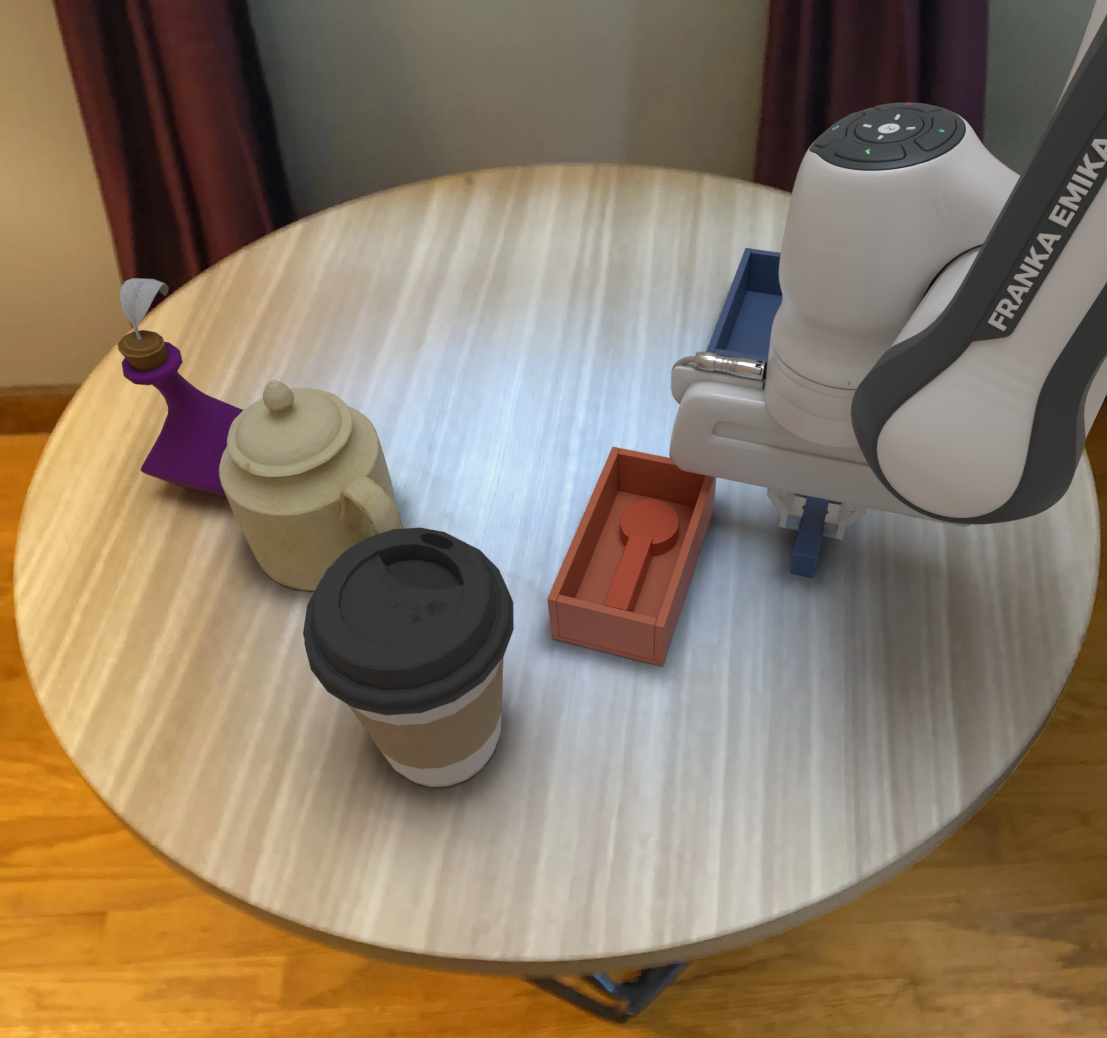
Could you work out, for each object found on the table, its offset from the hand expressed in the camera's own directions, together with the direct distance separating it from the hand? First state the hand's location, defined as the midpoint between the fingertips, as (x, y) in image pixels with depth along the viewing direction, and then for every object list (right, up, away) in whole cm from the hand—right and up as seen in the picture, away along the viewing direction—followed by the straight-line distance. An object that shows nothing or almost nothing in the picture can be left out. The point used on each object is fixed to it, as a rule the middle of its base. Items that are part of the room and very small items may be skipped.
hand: (812, 526), depth 72 cm
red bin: (-12, -3, +1) cm, 13 cm away
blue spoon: (+1, 0, +2) cm, 3 cm away
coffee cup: (-25, -13, -7) cm, 29 cm away
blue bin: (0, +15, +15) cm, 21 cm away
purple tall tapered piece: (-44, +4, +10) cm, 45 cm away
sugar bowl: (-33, -1, +4) cm, 33 cm away
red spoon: (-12, -3, 0) cm, 13 cm away
